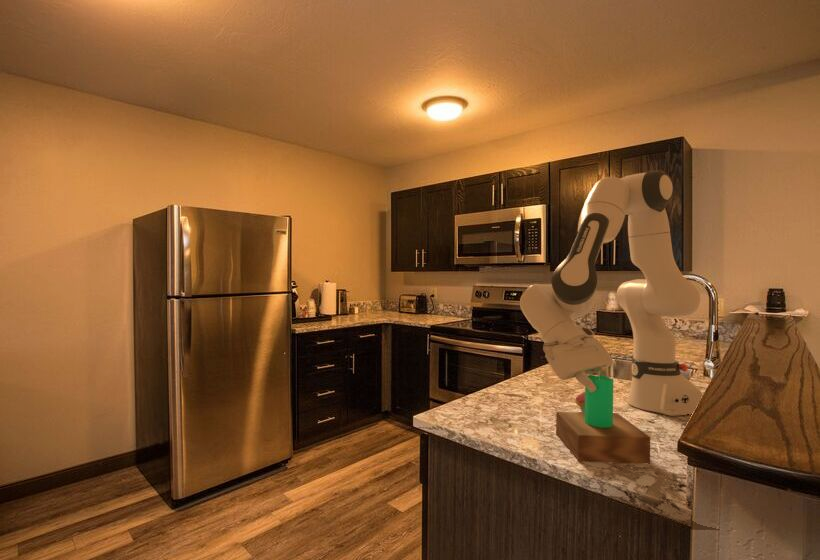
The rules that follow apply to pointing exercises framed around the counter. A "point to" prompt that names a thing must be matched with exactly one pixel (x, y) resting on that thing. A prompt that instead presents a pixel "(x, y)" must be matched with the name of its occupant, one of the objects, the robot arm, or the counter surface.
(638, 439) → the walnut block
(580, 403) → the cupcake
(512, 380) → the counter surface
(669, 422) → the counter surface
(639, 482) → the counter surface
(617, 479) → the counter surface
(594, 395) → the candle
